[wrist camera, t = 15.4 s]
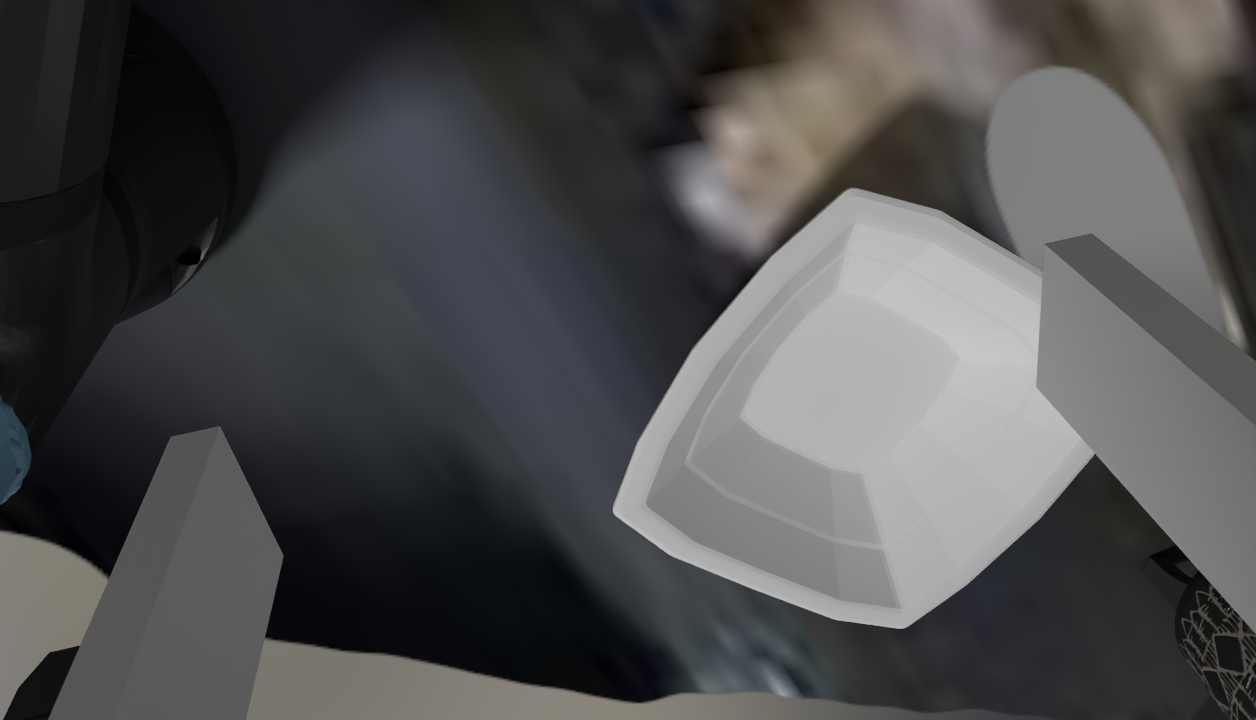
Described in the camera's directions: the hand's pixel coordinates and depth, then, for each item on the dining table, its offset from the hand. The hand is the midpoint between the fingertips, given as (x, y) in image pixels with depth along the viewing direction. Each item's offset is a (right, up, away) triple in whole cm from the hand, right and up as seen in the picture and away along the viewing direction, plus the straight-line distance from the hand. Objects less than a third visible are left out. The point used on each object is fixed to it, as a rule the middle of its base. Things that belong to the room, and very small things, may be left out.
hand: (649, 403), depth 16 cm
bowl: (+12, 0, +40) cm, 41 cm away
